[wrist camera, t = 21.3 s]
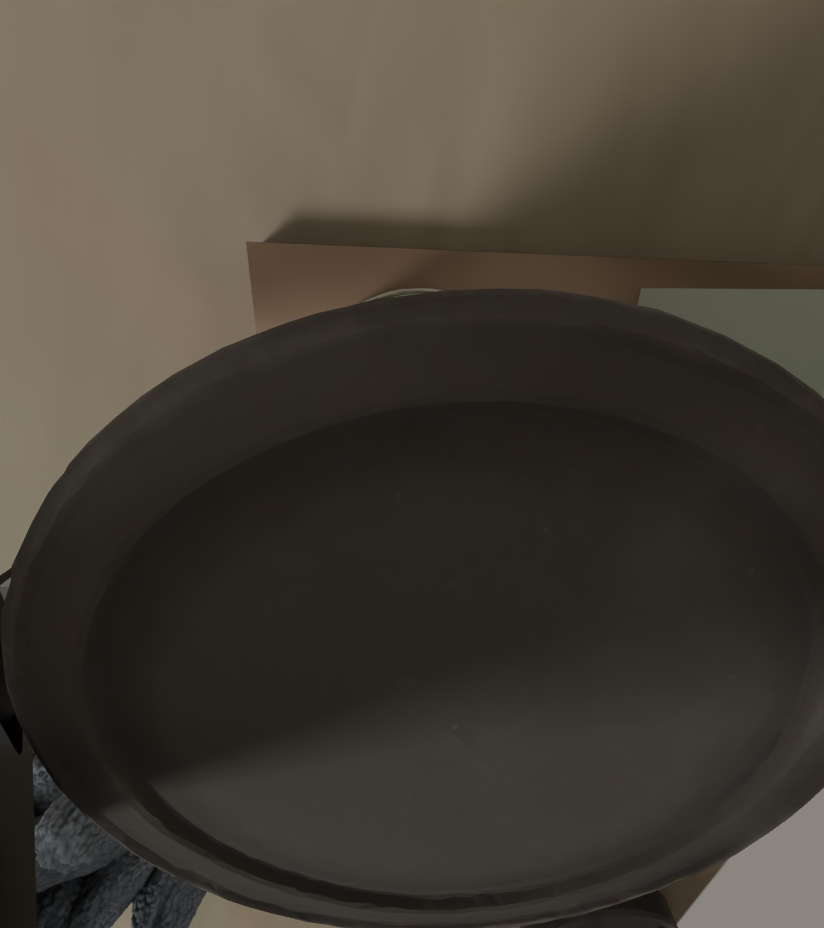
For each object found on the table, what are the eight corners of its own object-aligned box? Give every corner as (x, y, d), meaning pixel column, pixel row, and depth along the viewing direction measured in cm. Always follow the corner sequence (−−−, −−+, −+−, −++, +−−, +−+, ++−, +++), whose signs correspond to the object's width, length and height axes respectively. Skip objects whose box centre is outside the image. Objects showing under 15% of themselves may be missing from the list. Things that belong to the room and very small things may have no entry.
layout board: (772, 528, 23) (800, 545, 21) (287, 518, 22) (278, 536, 20) (892, 271, 17) (939, 270, 16) (259, 245, 16) (244, 241, 15)
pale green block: (794, 527, 21) (1050, 684, 13) (584, 523, 20) (707, 684, 12) (906, 297, 16) (1412, 308, 8) (641, 288, 16) (891, 290, 8)
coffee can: (256, 436, 18) (-118, 813, 5) (395, 226, 15) (349, -185, 2) (434, 551, 21) (489, 991, 8) (584, 394, 18) (1093, 691, 5)
